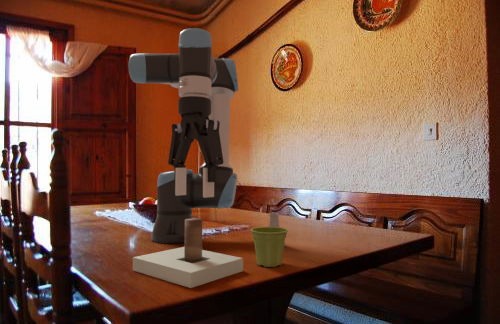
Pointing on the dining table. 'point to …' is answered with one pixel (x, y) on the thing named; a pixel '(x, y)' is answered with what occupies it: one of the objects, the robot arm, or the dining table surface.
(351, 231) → the dining table surface
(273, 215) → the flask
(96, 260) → the dining table surface
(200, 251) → the peg
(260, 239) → the plant pot
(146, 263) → the board
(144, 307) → the dining table surface
